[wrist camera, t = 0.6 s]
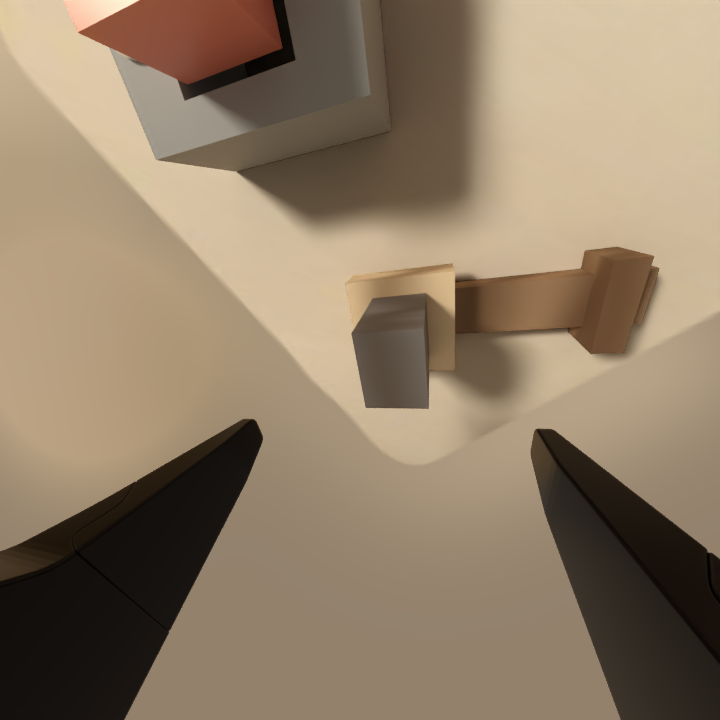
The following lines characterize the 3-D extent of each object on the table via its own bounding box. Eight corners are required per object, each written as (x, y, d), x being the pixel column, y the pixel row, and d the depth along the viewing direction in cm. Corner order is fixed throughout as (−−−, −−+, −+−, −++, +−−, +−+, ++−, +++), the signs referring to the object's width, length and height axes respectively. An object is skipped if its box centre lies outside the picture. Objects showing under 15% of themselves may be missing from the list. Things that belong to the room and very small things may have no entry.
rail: (646, 243, 15) (690, 252, 12) (620, 329, 17) (653, 351, 15) (360, 277, 19) (349, 289, 17) (370, 342, 21) (362, 361, 19)
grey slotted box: (369, -118, 11) (313, -407, 6) (391, 130, 15) (368, 92, 10) (176, -18, 14) (18, -153, 9) (235, 171, 18) (150, 159, 12)
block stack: (452, 263, 16) (464, 300, 10) (453, 354, 19) (462, 425, 13) (353, 275, 18) (313, 313, 12) (367, 357, 20) (341, 422, 14)
